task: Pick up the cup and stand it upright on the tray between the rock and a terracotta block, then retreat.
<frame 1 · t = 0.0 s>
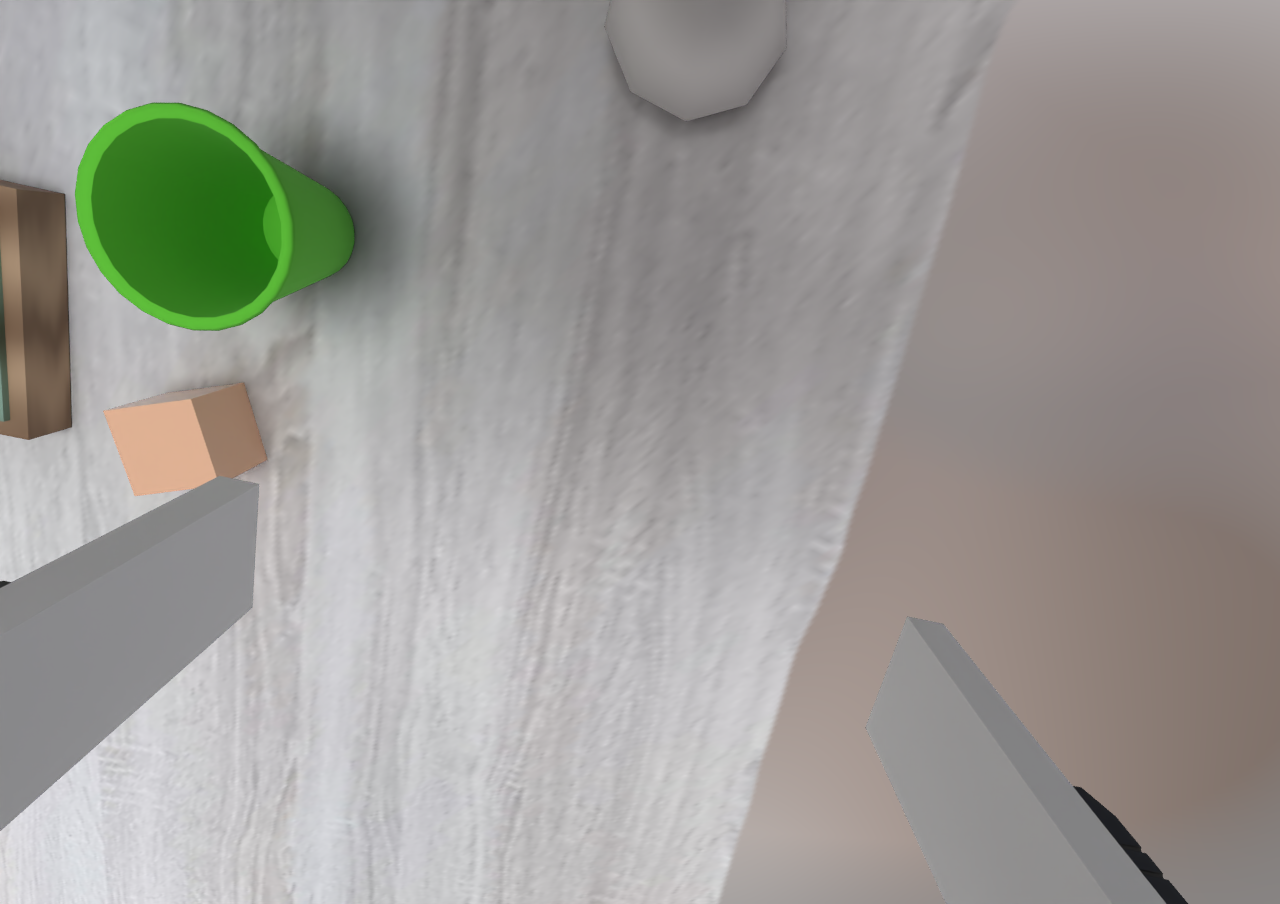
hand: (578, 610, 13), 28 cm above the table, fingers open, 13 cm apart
potion bottle: (690, 40, 35), on the table
terracotta block: (218, 426, 42), on the table
cup: (314, 231, 38), on the table
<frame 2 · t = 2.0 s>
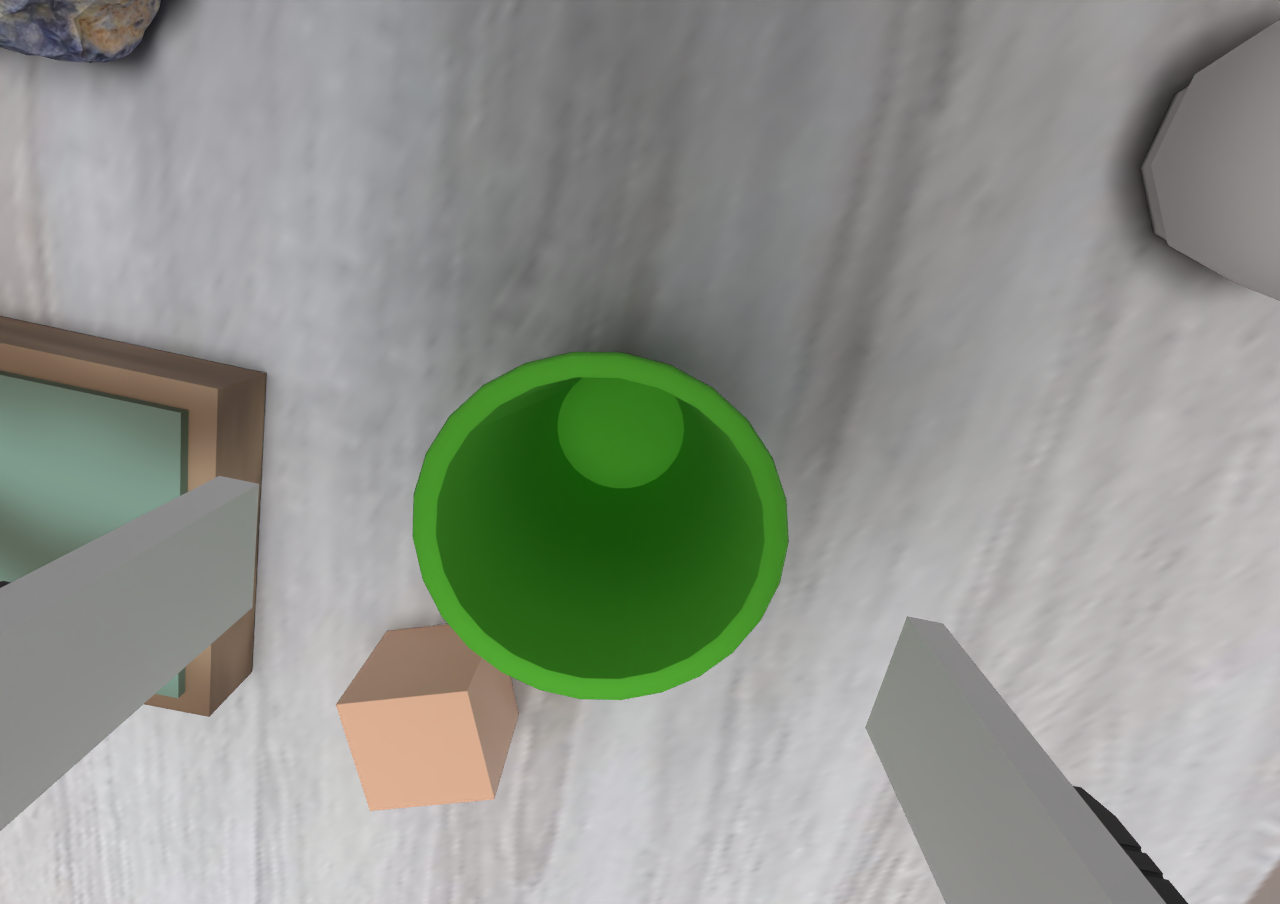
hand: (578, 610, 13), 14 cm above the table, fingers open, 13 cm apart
potion bottle: (1236, 158, 23), on the table
tray: (90, 499, 28), on the table
terracotta block: (454, 672, 30), on the table
cup: (621, 423, 26), on the table
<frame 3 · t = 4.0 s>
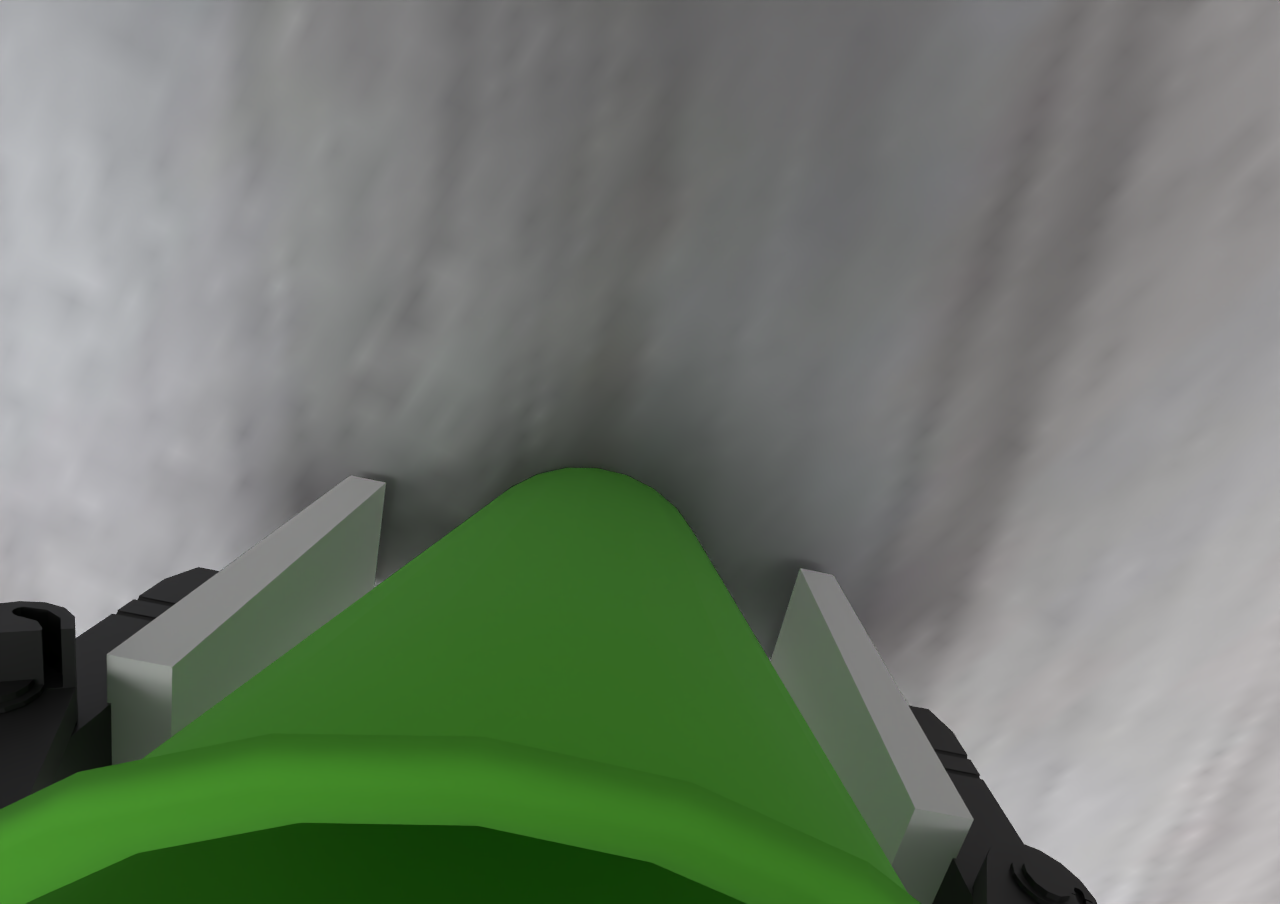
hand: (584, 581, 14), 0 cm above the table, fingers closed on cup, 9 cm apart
cup: (587, 567, 15), on the table, touching gripper
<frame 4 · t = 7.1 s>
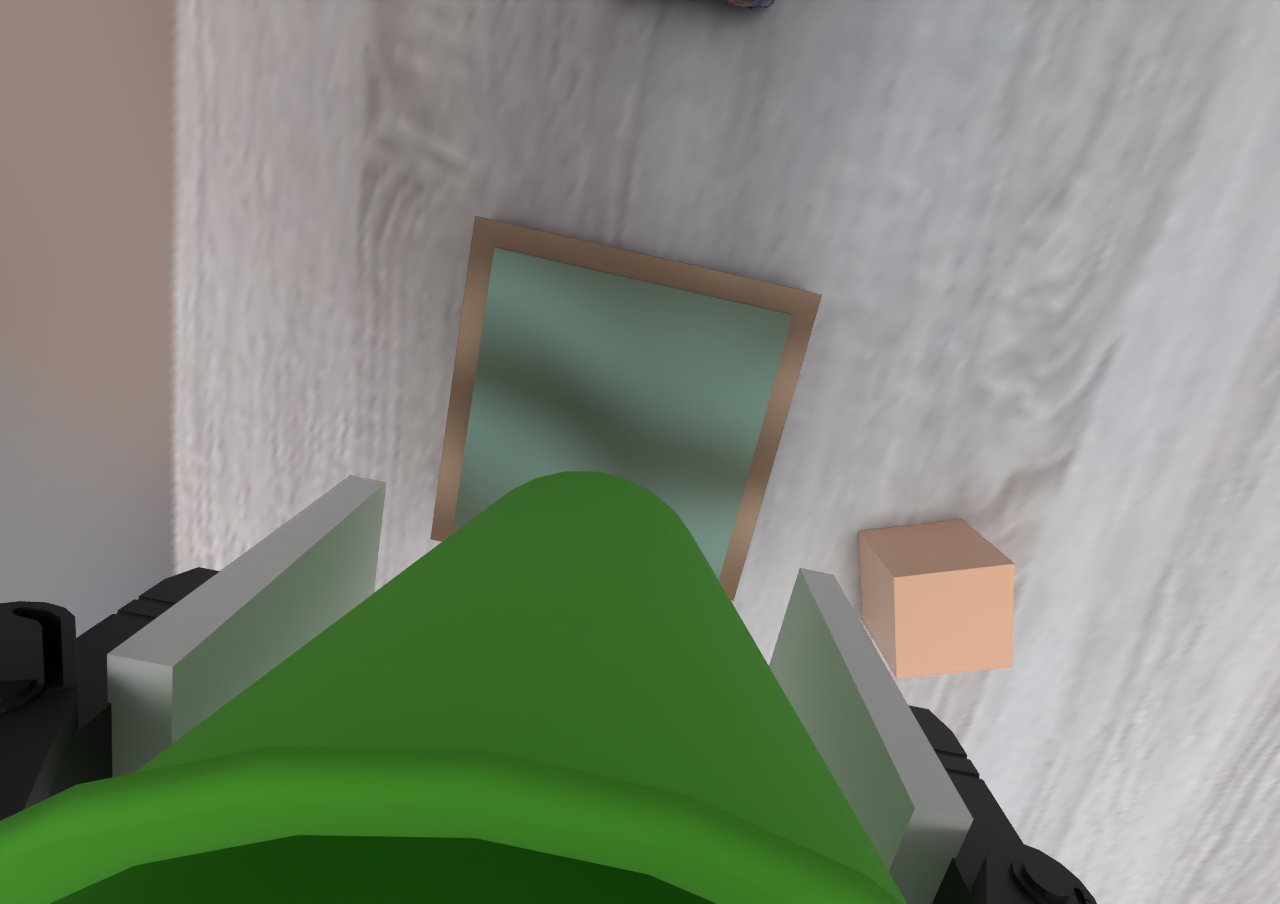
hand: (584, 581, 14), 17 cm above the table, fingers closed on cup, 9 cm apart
tray: (618, 408, 31), on the table
terracotta block: (909, 570, 33), on the table
cup: (586, 570, 15), point 16 cm above the table, touching gripper
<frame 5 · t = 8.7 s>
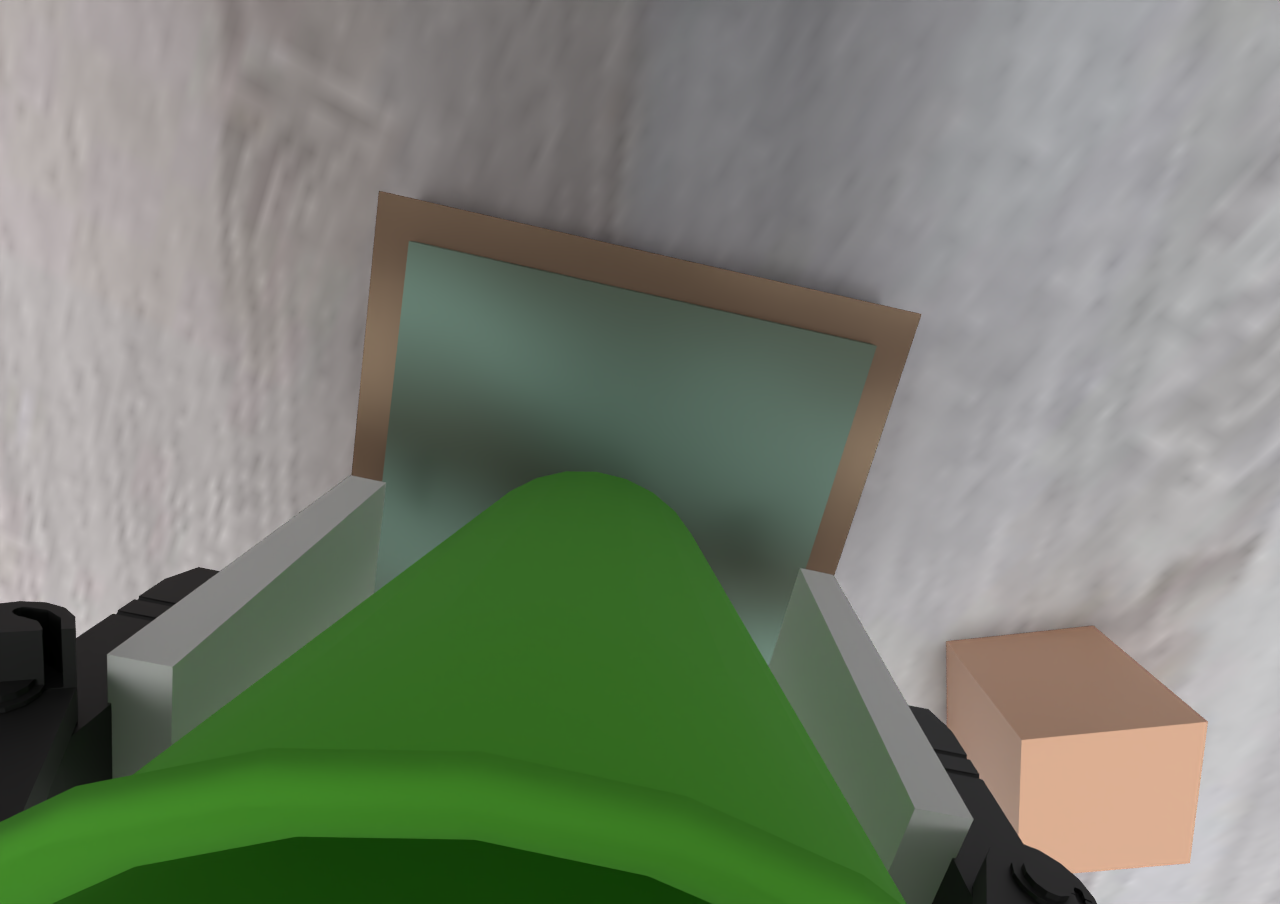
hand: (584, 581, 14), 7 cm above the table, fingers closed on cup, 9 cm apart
tray: (607, 473, 22), on the table
terracotta block: (1016, 692, 24), on the table
cup: (586, 570, 15), point 7 cm above the table, touching gripper
when the fingers open (5 cm above the table, at t = 10.2 s): cup stays where it is, resting on tray.
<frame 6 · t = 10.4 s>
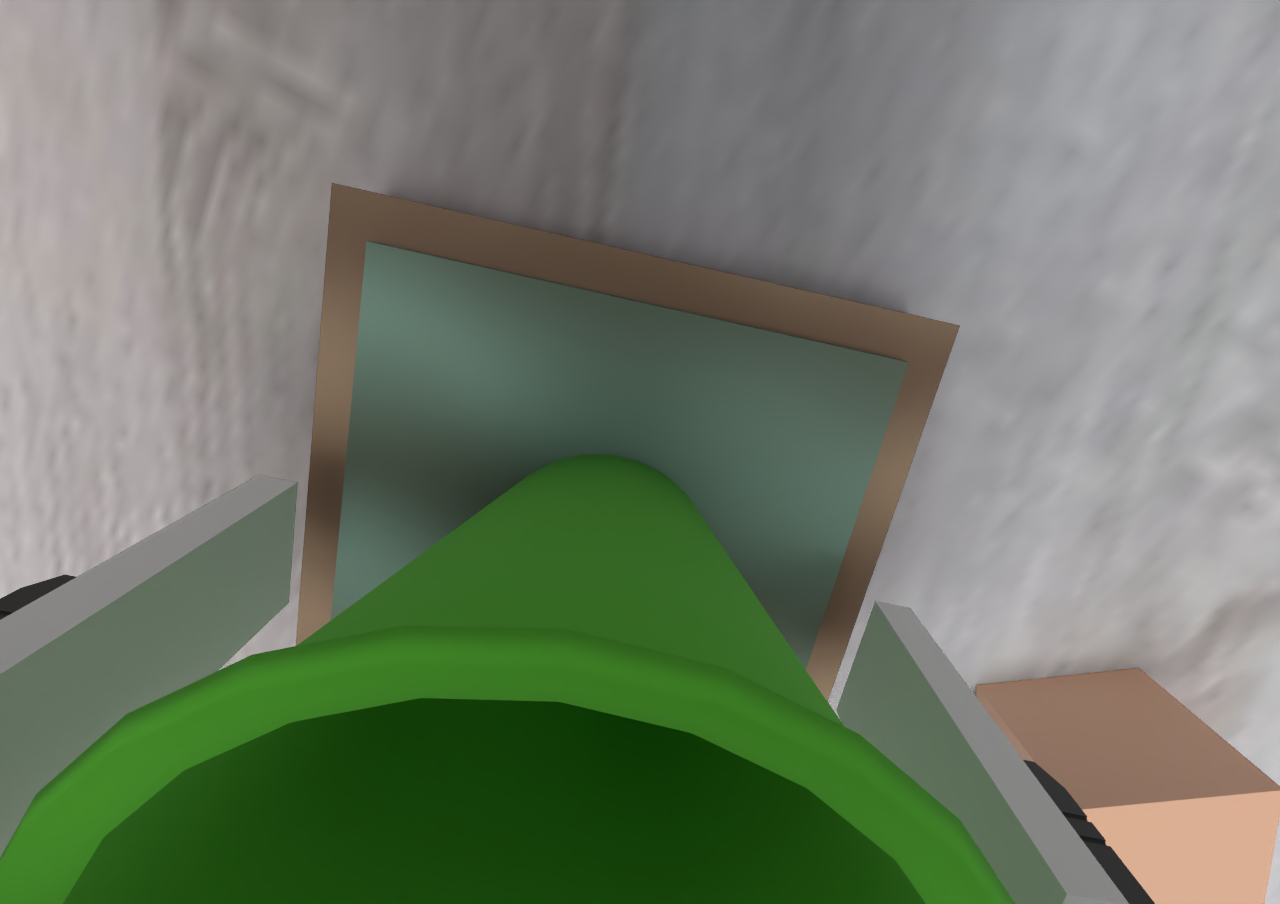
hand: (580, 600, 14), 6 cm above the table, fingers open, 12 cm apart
tray: (600, 501, 19), on the table
terracotta block: (1052, 740, 22), on the table
cup: (601, 549, 16), point 3 cm above the table, touching tray
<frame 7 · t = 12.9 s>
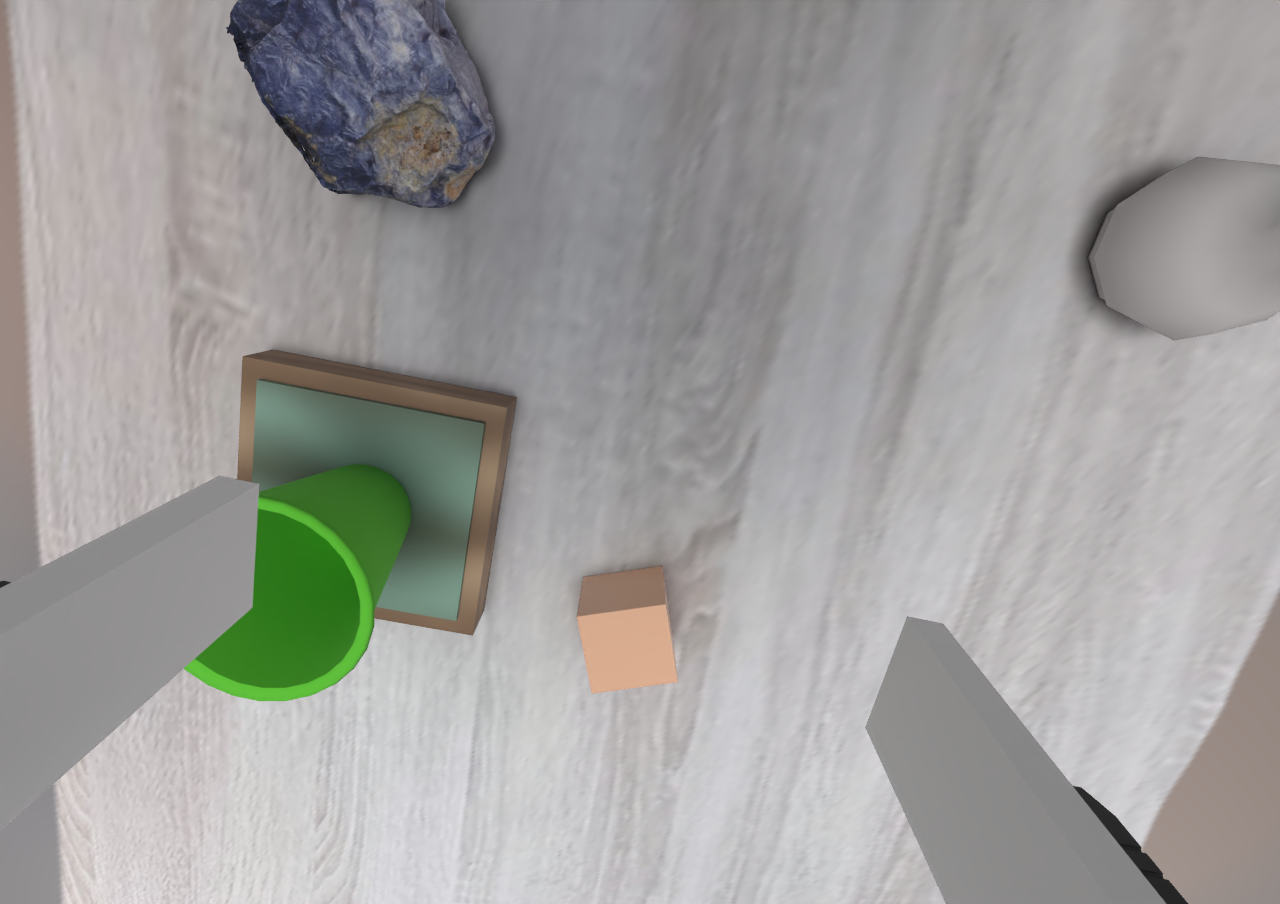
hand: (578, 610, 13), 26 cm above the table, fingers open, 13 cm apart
potion bottle: (1147, 250, 37), on the table
tray: (384, 487, 40), on the table
rock: (406, 108, 35), on the table
terracotta block: (628, 606, 42), on the table
cup: (367, 506, 37), point 3 cm above the table, touching tray
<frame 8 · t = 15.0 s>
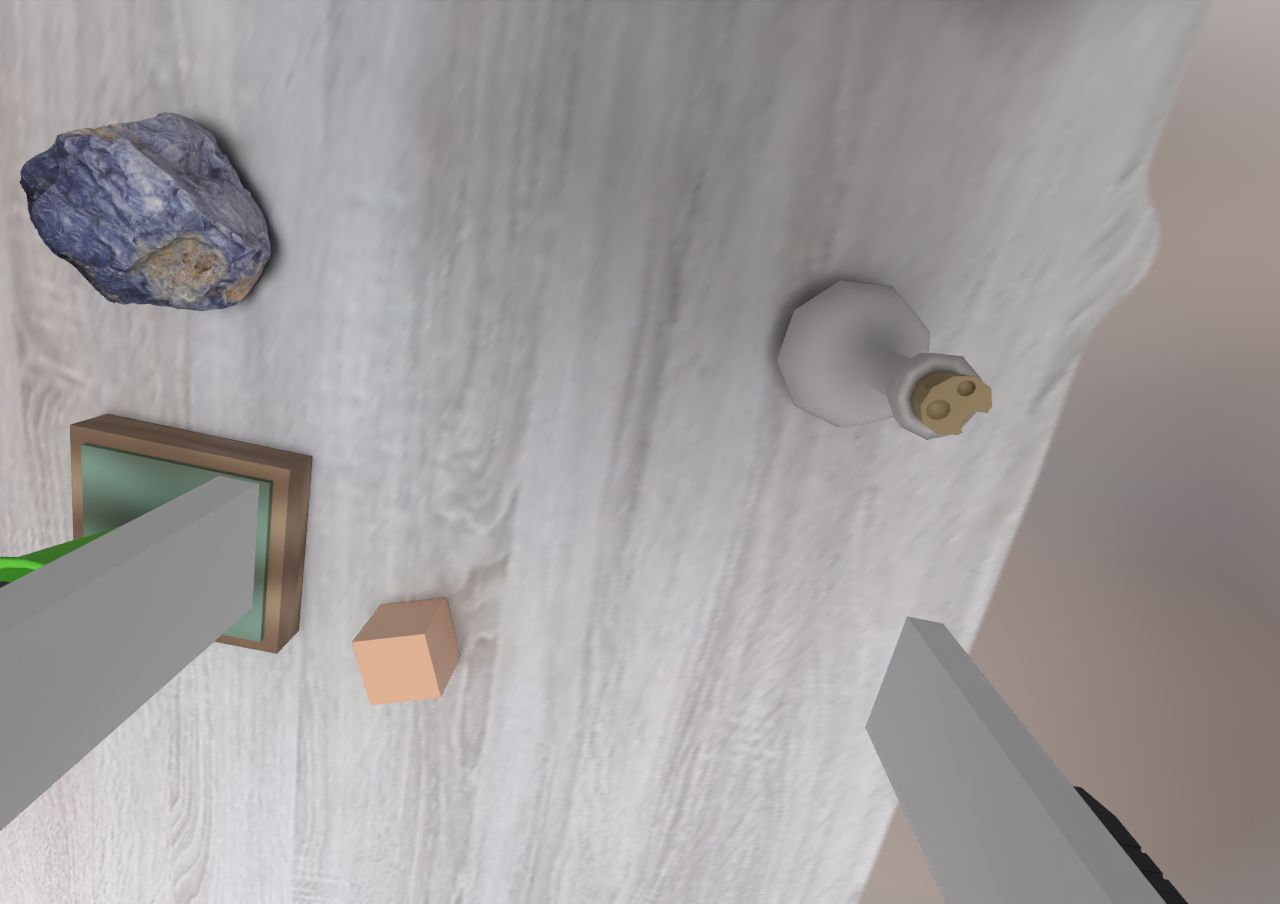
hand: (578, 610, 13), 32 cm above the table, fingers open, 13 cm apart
potion bottle: (834, 346, 43), on the table
tray: (207, 527, 47), on the table
rock: (204, 221, 42), on the table
terracotta block: (421, 630, 50), on the table
cup: (180, 546, 44), point 3 cm above the table, touching tray
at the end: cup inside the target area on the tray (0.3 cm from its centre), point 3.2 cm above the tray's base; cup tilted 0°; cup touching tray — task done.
